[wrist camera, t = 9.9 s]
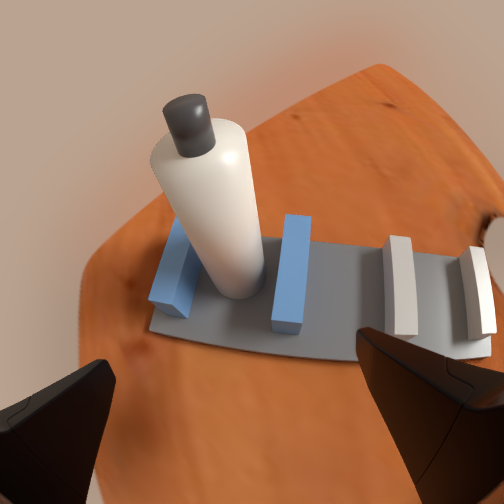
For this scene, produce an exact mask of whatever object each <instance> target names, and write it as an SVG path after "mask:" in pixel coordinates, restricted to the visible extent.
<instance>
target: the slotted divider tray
mask: <svg viewBox="0 0 504 504" xmlns="http://www.w3.org/2000/svg"><path fill="white" fill-rule="evenodd" d="M310 230H311V216H300V215H288V214H286V215H285V223H284V231H283V238H273V237H262V236H261V240H262V247H263V254H264V261H265V268H266V278H265V282H264V284H263V286H262V287H261V289H260V290H259V291H258V292H257V293H256V294H254V295H252V296H251V297H248V298H245V299H231V298H228V297H226V296H224V295H222V294H221V293H220V292H219V291H218V290H217V288H216V287H215V285H214V283H213V281H212V280H211V278H210V276H209V274H208V273H207V271H206V269H205V267H204V266H203V264H202V262H201V260H200V258H199V257H198V255H197V253H196V251H195V249H194V248H193V246H192V244H191V242H190V240H189V239H188V237H187V235H186V233H185V231H184V229H183V227H182V226H181V224H180V222H179V220H178V218H177V216H176V218H175V221H174V223H173V226H172V229H171V232H170V234H169V237H168V240H167V243H166V246H165V249H164V251H163V254H162V257H161V260H160V263H159V266H158V269H157V272H156V275H155V279H154V282H153V285H152V288H151V291H150V295H149V298H148V300H149V301H150V302H151V303H152V304H154V305H155V309H154V312H153V316H152V320H151V323H150V327H149V331H151V332H153V333H156V334H161V335H165V336H169V337H173V338H178V339H182V340H187V341H192V342H197V343H202V344H207V345H212V346H218V347H223V348H229V349H235V350H241V351H248V352H255V353H262V354H269V355H277V356H285V357H295V358H305V359H316V360H329V361H344V362H359V361H358V358H357V355H356V331H357V329H360V328H364V327H371V328H373V329H376V330H378V331H381V332H383V333H386V334H388V335H391V336H394V337H396V338H399V339H401V340H404V341H407V342H409V343H412V344H414V345H417V346H420V347H422V348H425V349H428V350H430V351H433V352H436V353H438V354H441V355H444V356H445V358H446V357H450V358H452V359H455V360H469V359H479V358H487V357H489V356H491V335H493V334H495V333H497V331H496V319H495V309H494V301H493V294H492V288H491V282H490V277H489V271H488V266H487V262H486V257H485V253H484V249H483V248H479V247H473V246H469V247H468V248H467V249H466V250H465V251H464V252H463V253H462V254H461V256H460V257H451V256H443V255H435V254H427V253H418V252H412V246H411V239H410V238H409V237H401V236H393V235H390V236H389V237H388V239H387V241H386V243H385V244H384V246H383V248H374V247H364V246H355V245H345V244H335V243H325V242H315V241H310Z"/></svg>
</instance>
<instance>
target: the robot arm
mask: <svg viewBox="0 0 504 504" xmlns="http://www.w3.org/2000/svg"><path fill="white" fill-rule="evenodd" d="M356 355H357V358H358V361H359V363H360V366H361V369H362V372H363V374H364V377H365V380H366V383H367V386H368V388H369V390H370V393H371V395H372V397H373V399H374V401H375V403H376V405H377V407H378V409H379V411H380V413H381V415H382V417H383V419H384V421H385V423H386V425H387V427H388V429H389V431H390V433H391V435H392V437H393V439H394V441H395V444H396V446H397V448H398V450H399V452H400V454H401V456H402V459H403V461H404V463H405V465H406V467H407V470H408V472H409V474H410V476H411V478H412V481H413V483H414V485H416V486H415V488H416V490H417V493H418V495H419V497H420V500H421V502H422V504H504V373H503V372H498V371H494V370H490V369H486V368H482V367H478V366H474V365H470V364H467V363H464V362H461V361H458V360H455V359H452V358H450V357H446V358H445V356H444V355H441V354H438V353H436V352H433V351H430V350H428V349H425V348H422V347H420V346H417V345H414V344H412V343H409V342H407V341H404V340H401V339H399V338H396V337H394V336H391V335H388V334H386V333H383V332H381V331H378V330H376V329H373V328H371V327H364V328H360V329H357V331H356ZM115 384H116V378H115V375H114V373H113V371H112V369H111V367H110V365H109V363H108V361H107V360H105V359H97V360H95V361H93V362H91V363H89V364H88V365H86V366H84V367H82V368H80V369H79V370H77V371H75V372H73V373H71V374H70V375H68V376H66V377H64V378H63V379H61V380H59V381H57V382H55V383H53V384H51V385H50V386H48V387H46V388H44V389H42V390H40V391H39V392H37V393H35V394H33V395H32V396H30V397H27V398H26V399H24V400H22V401H20V402H18V403H16V404H14V405H12V406H10V407H7V408H6V409H3V410H1V411H0V504H86V500H87V494H88V490H89V486H90V481H91V477H92V473H93V469H94V465H95V461H96V457H97V453H98V450H99V446H100V443H101V439H102V436H103V432H104V429H105V426H106V422H107V419H108V416H109V412H110V407H111V402H112V398H113V393H114V388H115Z"/></svg>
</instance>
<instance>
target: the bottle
mask: <svg viewBox="0 0 504 504" xmlns="http://www.w3.org/2000/svg"><path fill="white" fill-rule="evenodd" d="M163 114H164V117H165V119H166V122H167V125H168V128H169V130H170V132H169V133H168V134H166V135H165V136H164V137H163V138H162V139H161V140H160V141H159V142H158V143H157V144H156V146H155V147H154V149H153V151H152V153H151V157H150V164H151V167H152V169H153V171H154V173H155V175H156V177H157V179H158V181H159V183H160V185H161V187H162V189H163V191H164V193H165V195H166V197H167V199H168V201H169V203H170V205H171V207H172V209H173V211H174V212H175V214H176V216H177V218H178V220H179V222H180V224H181V226H182V227H183V229H184V231H185V233H186V235H187V237H188V239H189V240H190V242H191V244H192V246H193V248H194V249H195V251H196V253H197V255H198V257H199V258H200V260H201V262H202V264H203V266H204V267H205V269H206V271H207V273H208V274H209V276H210V278H211V280H212V281H213V283H214V285H215V287H216V288H217V290H218V291H219V292H220V293H221V294H222V295H224V296H226V297H228V298H231V299H245V298H248V297H251V296H252V295H254V294H256V293H257V292H258V291H259V290H260V289H261V287H262V286H263V284H264V282H265V278H266V268H265V261H264V254H263V247H262V240H261V233H260V227H259V220H258V213H257V206H256V199H255V193H254V186H253V179H252V173H251V166H250V160H249V153H248V147H247V140H246V135H245V132H244V130H243V129H242V128H241V127H240V126H239V125H238V124H236V123H234V122H232V121H229V120H225V119H217V118H213V119H212V118H210V115H209V111H208V107H207V103H206V99H205V97H204V96H203V95H200V94H189V95H184V96H181V97H178V98H176V99H174V100H172V101H170V102H169V103H168V104H167V105H166V106H165V107H164V108H163Z"/></svg>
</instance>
